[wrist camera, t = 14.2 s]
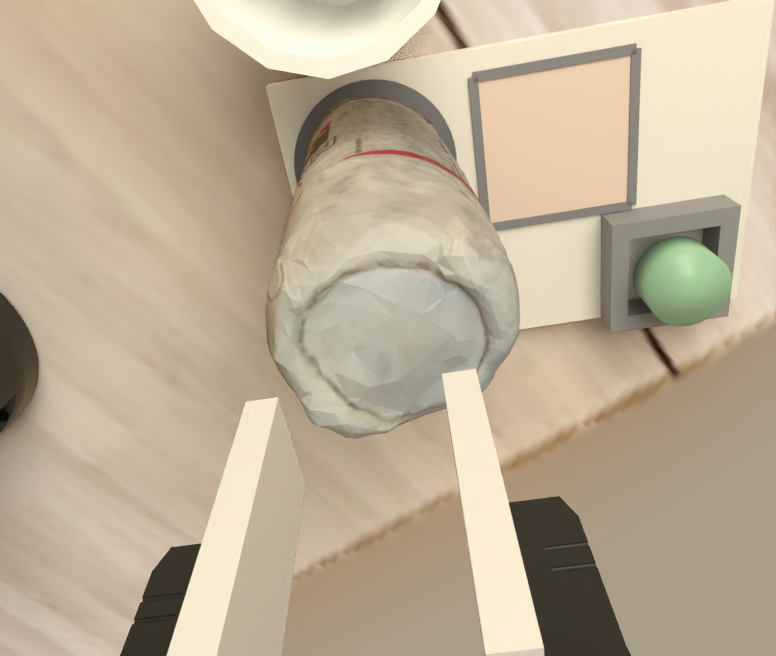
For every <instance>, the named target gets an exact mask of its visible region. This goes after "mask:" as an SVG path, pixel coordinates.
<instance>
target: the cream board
mask: <svg viewBox="0 0 776 656" xmlns="http://www.w3.org/2000/svg"><path fill="white" fill-rule="evenodd" d="M774 1H775V0H731V1H725V2H720V3H714V4H709V5H703V6H698V7H692V8H687V9H681V10H675V11H670V12H664V13H659V14H653V15H648V16H642V17H637V18H631V19H625V20H620V21H614V22H609V23H603V24H598V25H592V26H587V27H581V28H576V29H570V30H564V31H559V32H553V33H548V34H542V35H537V36H531V37H526V38H520V39H514V40H509V41H503V42H498V43H492V44H487V45H481V46H476V47H470V48H464V49H459V50H453V51H448V52H442V53H437V54H431V55H426V56H420V57H415V58H409V59H403V60H398V61H392V62H387V63H381V64H376V65H372V66H368V67H365V68H362V69H359V70H356V71H353V72H350V73H346V74H343V75H340V76H337V77H334V78H331V79H325V78H320V77H314V76H309V77H304V78H298V79H292V80H287V81H281V82H276V83H270V84H268V85H267V86H266V87H265V88H266V92H267V96H268V100H269V104H270V108H271V112H272V116H273V120H274V124H275V128H276V132H277V136H278V140H279V144H280V148H281V152H282V156H283V160H284V164H285V168H286V172H287V176H288V180H289V184H290V188H291V192H292V196H293V198H294V194H295V190H296V187H297V181H296V176H295V171H294V153H295V146H296V142H297V138H298V135H299V132H300V129H301V127H302V125H303V123H304V121H305V120H306V118H307V116H308V115H309V113H310V112H311V111H312V109H313V108H314V107H315V106H316V105H317V104H318V103H319V102H320V101H321V100H322V99H323V98H324V97H325V96H327V95H328V94H329V93H331V92H333V91H334V90H336V89H338V88H339V87H342V86H344V85H347V84H349V83H353V82H357V81H361V80H370V79H378V80H388V81H394V82H397V83H400V84H403V85H406V86H408V87H410V88H412V89H414V90H416V91H417V92H419V93H420V94H422V95H423V96H425V97H426V98H427V99H428V100H429V101H430V102H432V103H433V104H434V106H435V107H436V108H437V109H438V110H439V111H440V113H441V114H442V116H443V117H444V119H445V121H446V123H447V125H448V127H449V129H450V131H451V133H452V137H453V140H454V143H455V149H456V157H457V163H458V165H459V167H460V169H461V170H462V171H463V172H464V174H465V177H466V179H467V180H468V182H469V184H470V186H471V188H472V189H473V191H474V193H475V194H476V196H477V197H478V199H479V200H480V202H481V204H482V206H483V208H484V210H485V212H486V213H487V215H488V217H489V219H490V221H491V223H492V225H493V226H494V228H495V230H496V232H497V233H498V235H499V238H500V240H501V243H502V245H503V246H504V248H505V249H506V252H507V257H508V260H509V261H510V263H511V264H512V267H513V270H514V273H515V277H516V280H517V286H518V291H519V301H520V325H519V329H526V328H532V327H539V326H546V325H553V324H560V323H566V322H573V321H580V320H587V319H594V318H600V317H601V319H602V320H603V322H604V324H605V325H606V327H607V328H608V330H609V331H610V333H615V332H622V331H629V330H636V329H643V328H650V327H656V326H663V325H669V324H667V323H664V322H663V321H661V320H660V319H658V318H657V317H656V316H655V314H654V313H653V312H652V311H651V309H650V308H649V307H648V306H647V304H646V303H645V302H644V301H643V299H642V298H641V297H640V296H639V295H638V293H637V292H636V290H635V288H634V284H633V272H634V268H635V265H636V263H637V261H638V259H639V258H640V256H641V255H642V254H643V253H644V252H645V251H646V250H647V249H648V248H649V247H650V246H652V245H653V244H655V243H656V242H658V241H660V240H662V239H665V238H668V237H673V236H687V237H691V238H694V239H696V240H698V241H699V242H701V243H702V244H703V245H704V246H705V247H707V248H708V249H709V250H710V251H711V252H713V253H714V254H715V255H716V256H717V257H718V258H720V259H721V260H722V261H723V262H724V263H725V264H726V265H727V266H728V268H729V270H730V272H731V276H732V286H731V291H730V294H729V296H728V298H727V300H726V301H725V303H724V304H723V306H722V307H721V308H720V309H719V310H718V311H717V312H716V313H715V314H713V315H712V316H711V317H709V318H708V319H711V318H718V317H725V316H728V312H729V304H730V298H736V297H737V293H738V285H739V277H740V270H741V262H742V254H743V246H744V238H745V230H746V222H747V214H748V206H749V198H750V190H751V183H752V175H753V167H754V159H755V151H756V143H757V135H758V127H759V119H760V111H761V103H762V95H763V88H764V80H765V72H766V64H767V56H768V48H769V40H770V32H771V24H772V16H773V8H774Z"/></svg>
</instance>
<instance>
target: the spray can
mask: <svg viewBox="0 0 776 656" xmlns="http://www.w3.org/2000/svg"><path fill="white" fill-rule="evenodd" d="M519 325H520V301H519V291H518V286H517V280H516V277H515V273H514V270H513V267H512V264H511V263H510V261H509V260H508V257H507V252H506V249H505V248H504V246H503V245H502V243H501V240H500V238H499V235H498V233H497V232H496V230H495V228H494V226H493V225H492V223H491V221H490V219H489V217H488V215H487V213H486V212H485V210H484V208H483V206H482V204H481V202H480V200H479V199H478V197H477V196H476V194H475V193H474V191H473V189H472V188H471V186H470V184H469V182H468V180H467V179H466V177H465V174H464V172H463V171H462V170H461V169H460V167H459V165H458V163H457V161H456V160H455V159H454V157H453V156H452V154H451V153H450V152H449V149H448V147H447V146H446V145H445V144H444V142H443V141H442V139H441V136H440V134H439V132H438V131H437V130H436V129H435V128H434V126H433V124H432V122H431V121H429V119H426V118H425V117H424V116H423V114H421V113H419V111H417V110H416V109H414V108H412V107H411V106H408V105H407V104H404V103H402V102H398V100H396V99H394V98H389V97H377V96H376V97H372V98H371V97H364V98H347V99H345V100H343V101H341V102H340V103H338V104H337V105H335V106H334V107H333V108H332V109H330V110H328V111H326V112H325V114H324V116H323V117H322V119H321V121H320V122H319V124H318V126H317V127H316V129H315V131H314V132H313V134H312V136H311V138H310V142H309V147H308V154H307V156H306V159H305V162H304V165H303V168H302V173H301V175H299V177H298V184H297V187H296V190H295V194H294V198H293V202H292V205H291V209H290V212H289V214H288V218H287V221H286V224H285V228H284V234H283V237H282V241H281V248H280V251H279V253H278V256H277V259H276V261H275V264H274V267H273V271H272V274H271V278H270V282H269V286H268V291H267V303H266V329H267V342H268V346H269V350H270V353H271V355H272V357H273V360H274V362H275V364H276V366H277V368H278V370H279V372H280V373H281V375H282V376H283V378H284V379H285V381H286V382H287V384H288V385H289V386H290V387H291V389H292V390H293V391H294V392H295V394H296V395H297V396H298V397H299V399H300V401H301V403H302V405H303V407H304V409H305V411H306V413H307V415H308V417H309V419H310V420H311V422H312V423H313V424H315V425H317V426H320V427H325V428H328V429H330V430H332V431H334V432H336V433H338V434H340V435H342V436H344V437H346V438H360V437H363V436H367V435H373V434H380V433H386V432H388V431H390V430H392V429H394V428H395V427H396V426H399V425H401V424H404V423H406V422H409V421H411V420H414V419H416V418H419V417H421V416H423V415H427V414H430V413H433V412H436V411H439V410H442V409H446V408H447V406H446V399H445V392H444V385H443V378H442V374H443V373H450V372H457V371H464V370H471V369H476V372H477V376H478V380H479V384H480V388H481V392H483V391H484V390H485V389H486V388H487V386H488V385H489V383H490V382H491V380H492V379H493V377H494V374H495V371H496V370H497V369H498V367H499V366H500V365H501V363H502V362H503V361H504V360H505V358H506V357H507V356H508V355H509V353H510V351H511V349H512V347H513V345H514V343H515V341H516V339H517V337H518V331H519Z"/></svg>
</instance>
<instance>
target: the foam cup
mask: <svg viewBox="0 0 776 656" xmlns="http://www.w3.org/2000/svg"><path fill="white" fill-rule="evenodd" d="M194 2H195V3H196V5H197V6H198V8H199V10H200V11H201V13H202V14H203V16H204V17H205V19H206V21H207V22H208V24H209V25H210V27H211V29H212V30H214V31H215V32H217V33H218V34H219V35H221V36H222V37H224V38H225V39H227V40H228V41H229V42H231V43H232V44H234V45H235V46H236V47H238V48H239V49H241V50H242V51H243V52H245V53H246V54H248V55H249V56H251V57H252V58H253V59H255V60H256V61H258V62H259V63H260V64H262V65H263V66H265V67H266V68H268V69H274V70H279V71H285V72H291V73H297V74H302V75H308V76H314V77H320V78H325V79H331V78H334V77H337V76H340V75H343V74H346V73H350V72H353V71H356V70H359V69H362V68H365V67H368V66H372V65H375V64H378V63H381V62H384V61H387V60H389V59H390V58H391V57H392V56H393V55H394V54H395V53H396V52H397V51H398V50H399V49H400V48H401V47H402V46H403V45H404V44H405V43H406V42H407V41H408V40H409V39H410V38H411V37H412V36H413V35H414V34H415V33H416V32H417V31H418V30H419V29H420V28H421V27H422V26H423V25H424V24H425V23H426V22H427V21H428V20H429V19H430V18H432V17H433V16H434V15H435V13H436V10H437V8H438V5H439V3H440V0H194Z"/></svg>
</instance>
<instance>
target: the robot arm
mask: <svg viewBox="0 0 776 656" xmlns="http://www.w3.org/2000/svg"><path fill="white" fill-rule="evenodd" d="M37 378H38V361H37V355H36V350H35V347H34V343H33V341H32V338H31V336H30V333H29V331H28V329H27V327H26V326H25V324H24V322H23V320H22V319H21V317H20V316H19V314H18V313H17V311H16V310H15V309H14V307H13V306H12V305H11V304H10V303H9V301H8V300H7V299H6V298H5V297H4V296H3V295H2V294H1V293H0V434H1V433H2V432H4V431H5V430H6V429H7V428H8V427H9V426H10V425H11V423H12V422H13V421H14V420H15V419H16V417H17V416H18V415H19V414H20V413H21V411H22V410H23V409H24V408H25V407H26V405H27V404H28V402H29V401H30V399H31V397H32V395H33V393H34V390H35V387H36V384H37ZM442 378H443V385H444V392H445V399H446V406H447V412H448V419H449V426H450V433H451V440H452V446H453V453H454V460H455V467H456V473H457V480H458V486H459V493H460V499H461V505H462V512H463V518H464V525H465V531H466V538H467V544H468V551H469V557H470V563H471V570H472V576H473V583H474V590H475V596H476V603H477V609H478V616H479V622H480V629H481V635H482V641H483V648H484V654H485V656H631V655H630V652H629V650H628V648H627V647H626V644H625V642H624V639H623V636H622V633H621V631H620V628H619V625H618V622H617V620H616V617H615V614H614V612H613V609H612V607H611V604H610V601H609V598H608V595H607V593H606V590H605V587H604V584H603V582H602V579H601V576H600V573H599V571H598V568H597V567H596V564H595V560H594V557H593V554H592V552H591V549H590V547H589V546H588V541H587V538H586V535H585V533H584V530H583V527H582V524H581V522H580V519H579V516H578V515H577V514H576V513H575V512H574V511H573V510H572V509H571V508H570V507H569V506H568V505H567V504H566V503H565V502H564V501H563V500H562V499H561V498H560V497H559V496H557V497H550V498H543V499H534V500H526V501H519V502H510V503H508V499H507V495H506V491H505V486H504V482H503V478H502V474H501V470H500V466H499V462H498V458H497V454H496V450H495V445H494V441H493V437H492V433H491V429H490V425H489V421H488V417H487V413H486V409H485V405H484V400H483V396H482V392H481V388H480V384H479V380H478V376H477V372H476V369H471V370H464V371H457V372H450V373H443V374H442ZM305 488H306V484H305V481H304V478H303V475H302V472H301V468H300V465H299V462H298V459H297V455H296V452H295V449H294V446H293V443H292V439H291V436H290V433H289V430H288V426H287V423H286V420H285V417H284V414H283V410H282V407H281V404H280V401H279V397H276V398H269V399H262V400H255V401H248V402H246V403H245V406H244V410H243V413H242V416H241V419H240V422H239V426H238V429H237V432H236V435H235V438H234V442H233V445H232V448H231V451H230V454H229V458H228V461H227V464H226V467H225V470H224V474H223V477H222V480H221V483H220V486H219V490H218V493H217V496H216V499H215V502H214V506H213V509H212V512H211V515H210V518H209V522H208V525H207V528H206V531H205V534H204V538H203V541H202V544H194V545H186V546H179V547H171V548H170V550H169V551H168V552H167V554H166V555H165V556H164V557H163V559H162V560H161V561H160V562H159V564H158V565H157V566H156V567H155V569H154V570H153V571H152V573H151V576H150V579H149V581H148V584H147V587H146V589H145V592H144V594H143V597H142V598H143V602H141V603H140V605H139V608H138V610H137V613H136V616H135V618H134V620H135V623H134V624H132V626H131V629H130V631H129V634H128V637H127V639H126V642H125V644H124V647H123V650H122V652H121V655H120V656H281V653H282V647H283V640H284V633H285V626H286V619H287V612H288V605H289V599H290V592H291V585H292V578H293V571H294V564H295V557H296V550H297V543H298V536H299V529H300V522H301V515H302V508H303V501H304V495H305Z"/></svg>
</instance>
